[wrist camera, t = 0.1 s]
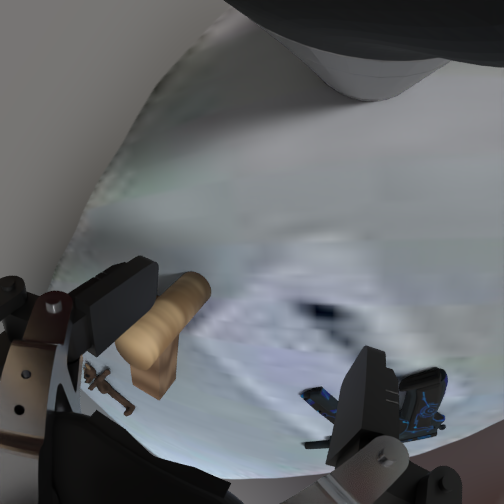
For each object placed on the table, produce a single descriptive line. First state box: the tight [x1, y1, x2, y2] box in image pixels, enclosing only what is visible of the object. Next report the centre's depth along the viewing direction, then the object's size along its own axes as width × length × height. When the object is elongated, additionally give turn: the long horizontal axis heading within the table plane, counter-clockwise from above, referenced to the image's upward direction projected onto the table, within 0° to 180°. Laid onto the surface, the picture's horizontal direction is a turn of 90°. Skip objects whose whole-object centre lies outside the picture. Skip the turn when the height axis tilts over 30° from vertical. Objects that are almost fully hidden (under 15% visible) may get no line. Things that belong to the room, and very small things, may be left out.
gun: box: [301, 368, 448, 449], centre depth 34 cm, size 24×3×15 cm
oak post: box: [115, 272, 211, 370], centre depth 29 cm, size 4×4×12 cm
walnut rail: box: [130, 295, 179, 400], centre depth 39 cm, size 16×5×5 cm, turn 166°
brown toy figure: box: [83, 363, 135, 416], centre depth 56 cm, size 18×4×14 cm
